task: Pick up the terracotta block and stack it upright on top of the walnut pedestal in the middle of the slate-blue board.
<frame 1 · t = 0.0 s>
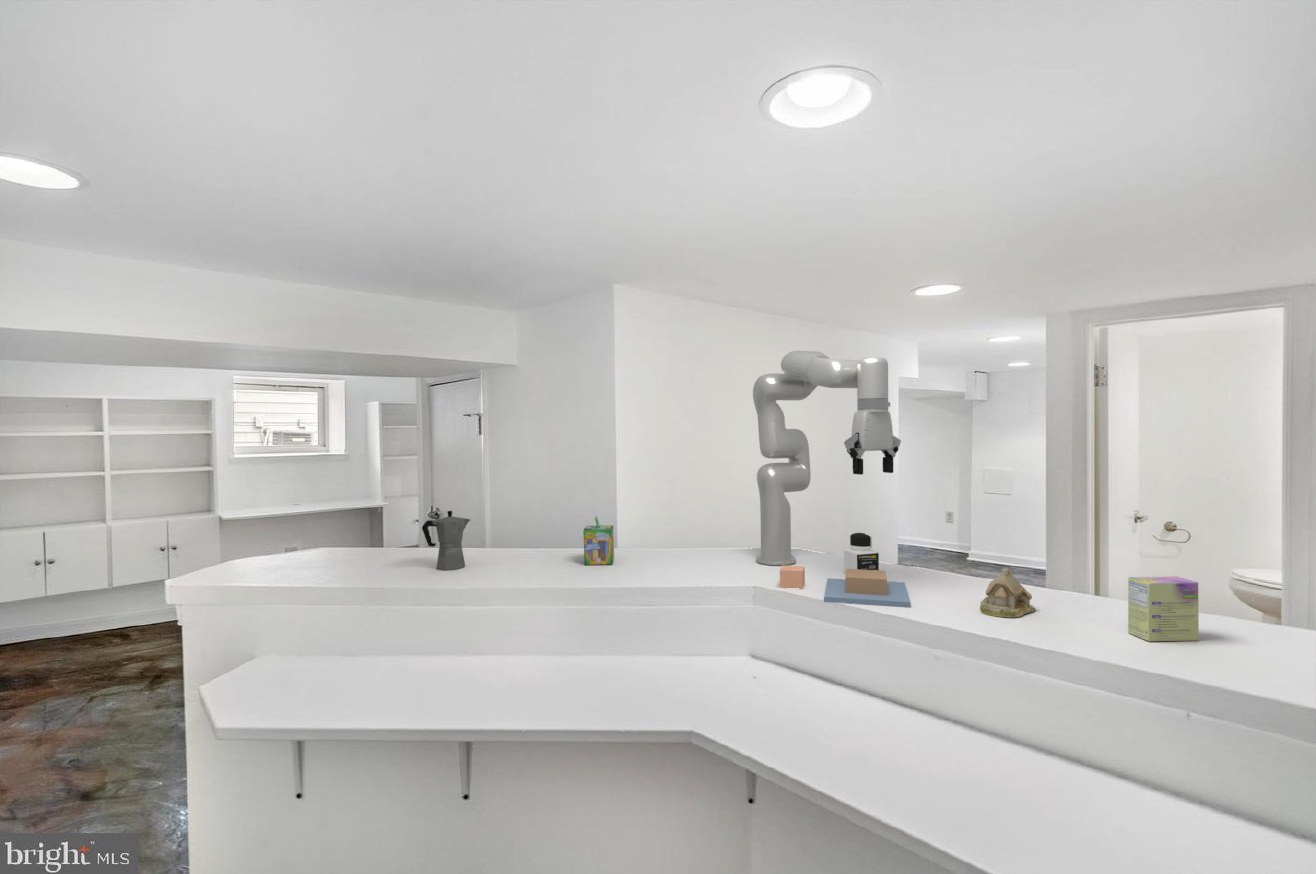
hand: (873, 473, 166), 31 cm above the table, tool pointing down, fingers open, 9 cm apart
ceramic model: (1005, 611, 152), on the table
box: (1162, 638, 132), on the table
medicine bottle: (861, 575, 189), on the table
coffeepot: (447, 568, 205), on the table
terracotta block: (792, 586, 177), on the table
chalk box: (599, 563, 211), on the table
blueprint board: (865, 594, 167), on the table
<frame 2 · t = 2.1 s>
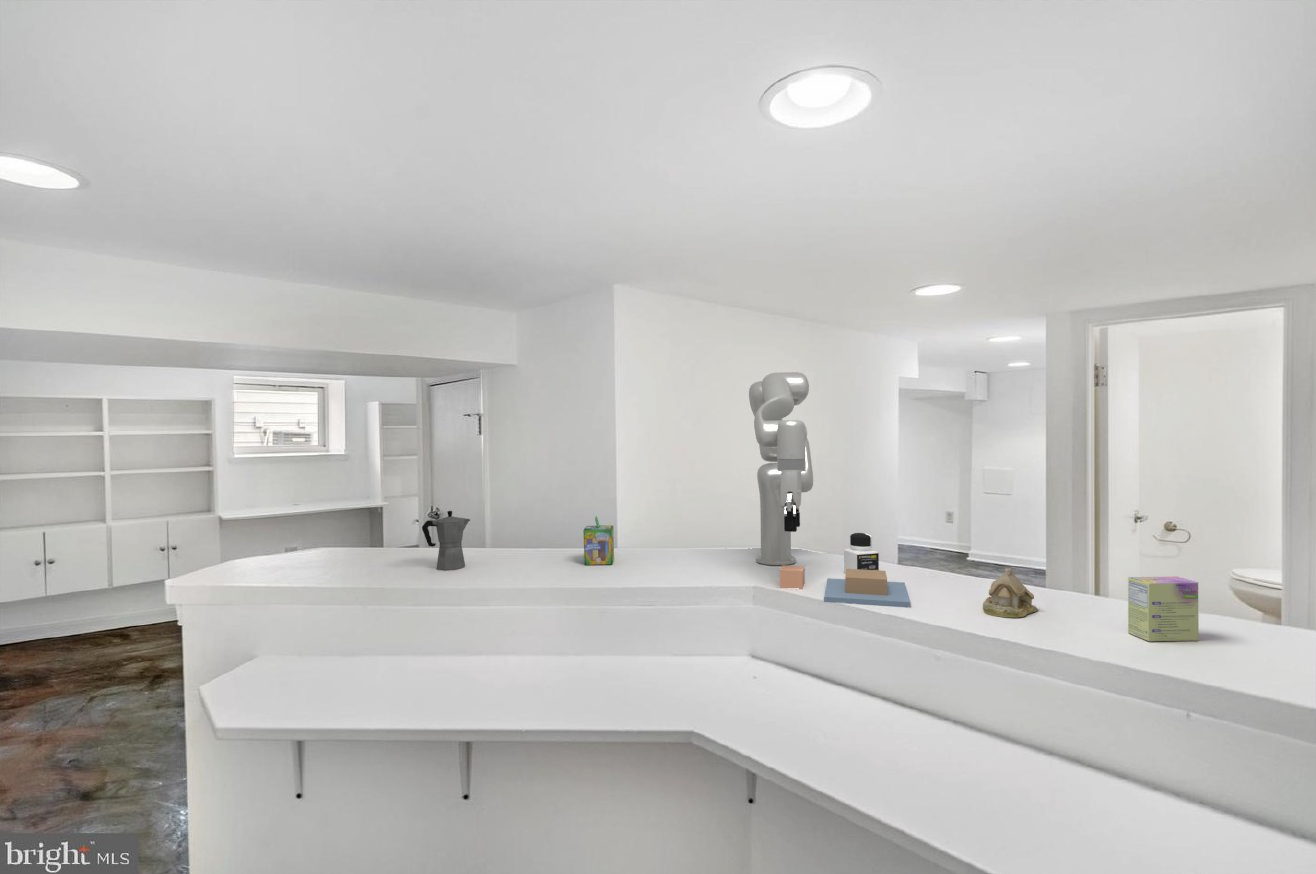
hand: (792, 529, 176), 16 cm above the table, tool pointing down, fingers open, 9 cm apart
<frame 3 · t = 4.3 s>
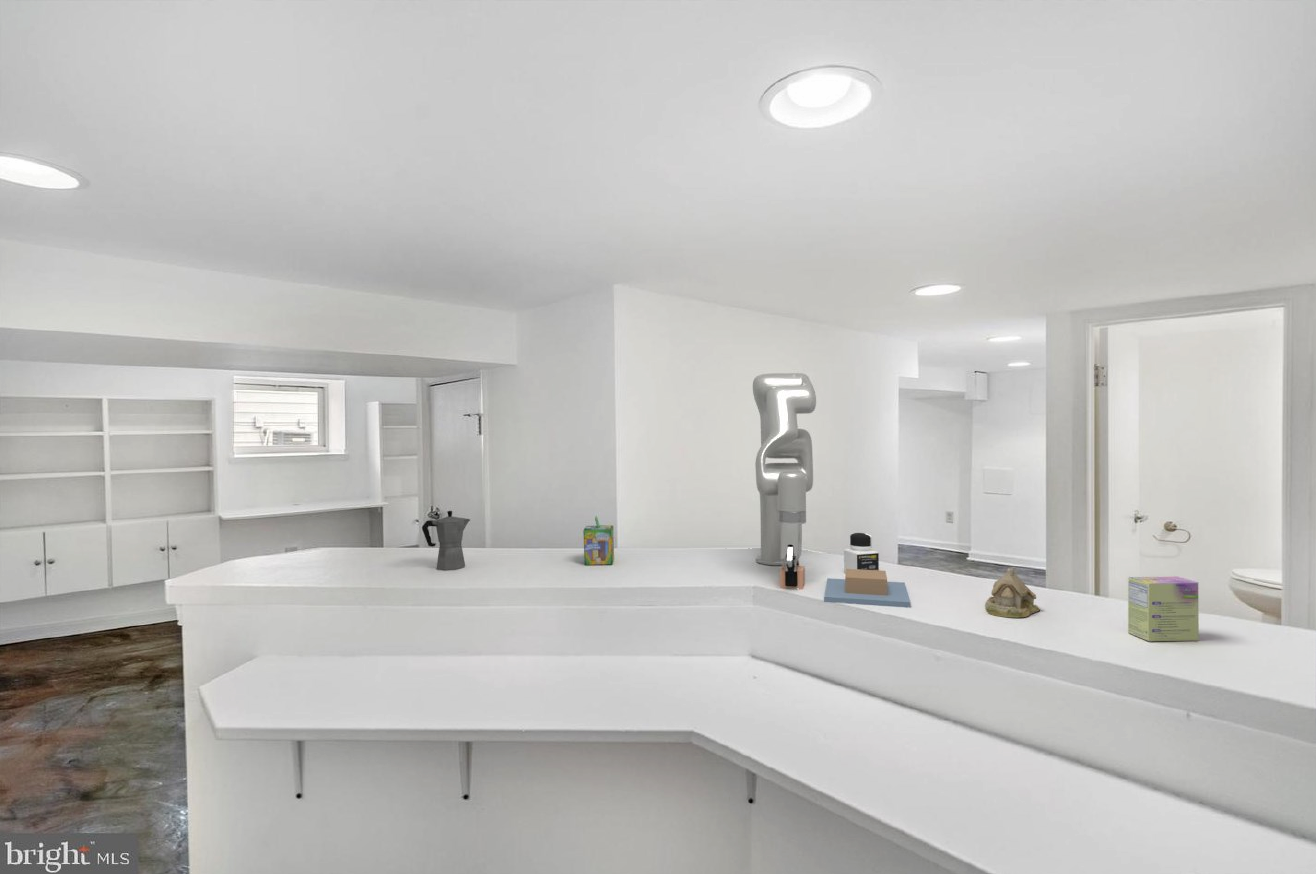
hand: (792, 582, 177), 1 cm above the table, tool pointing down, fingers closed on terracotta block, 6 cm apart
terracotta block: (792, 586, 177), on the table, touching gripper
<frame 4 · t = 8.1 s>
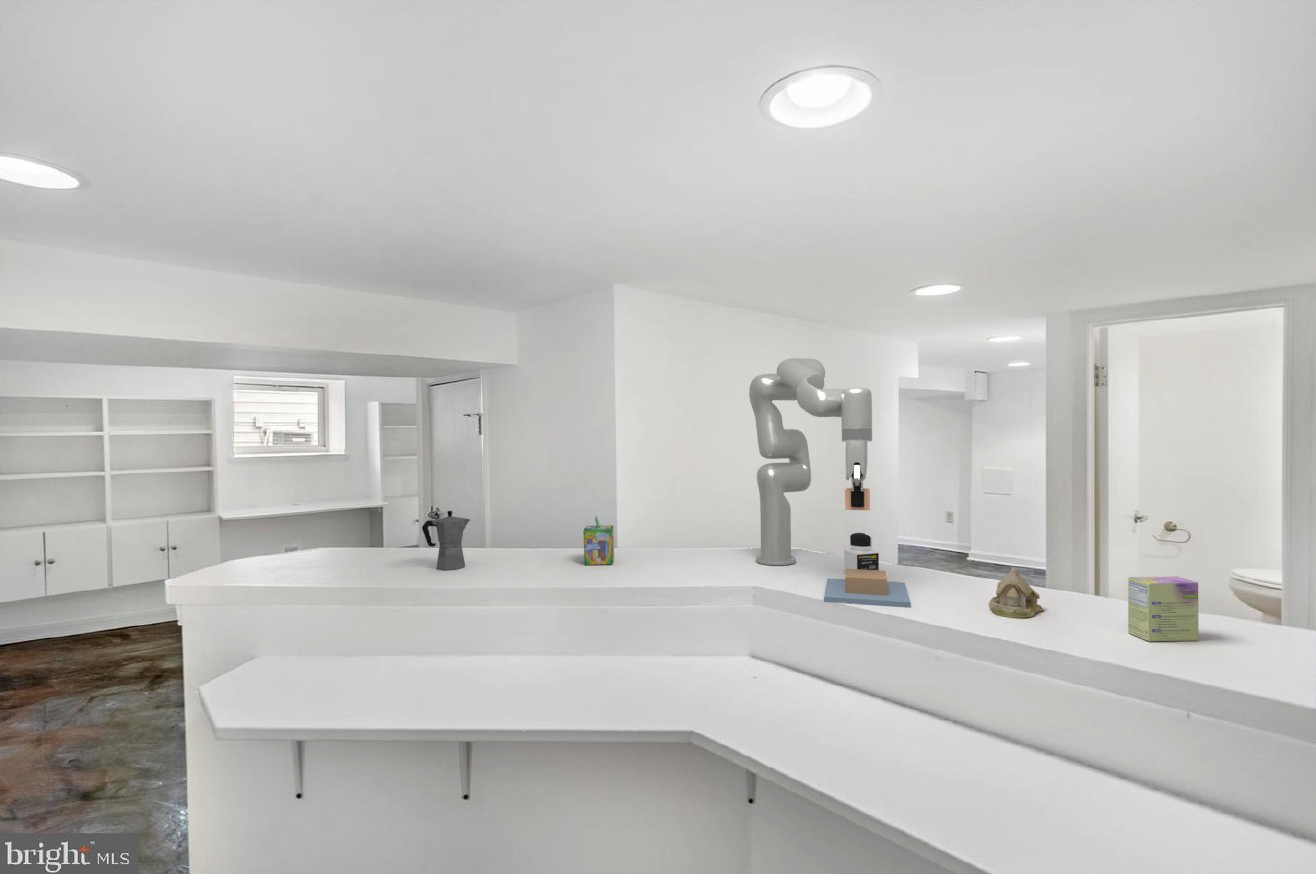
hand: (857, 504, 168), 23 cm above the table, tool pointing down, fingers closed on terracotta block, 6 cm apart
terracotta block: (857, 508, 168), point 22 cm above the table, touching gripper
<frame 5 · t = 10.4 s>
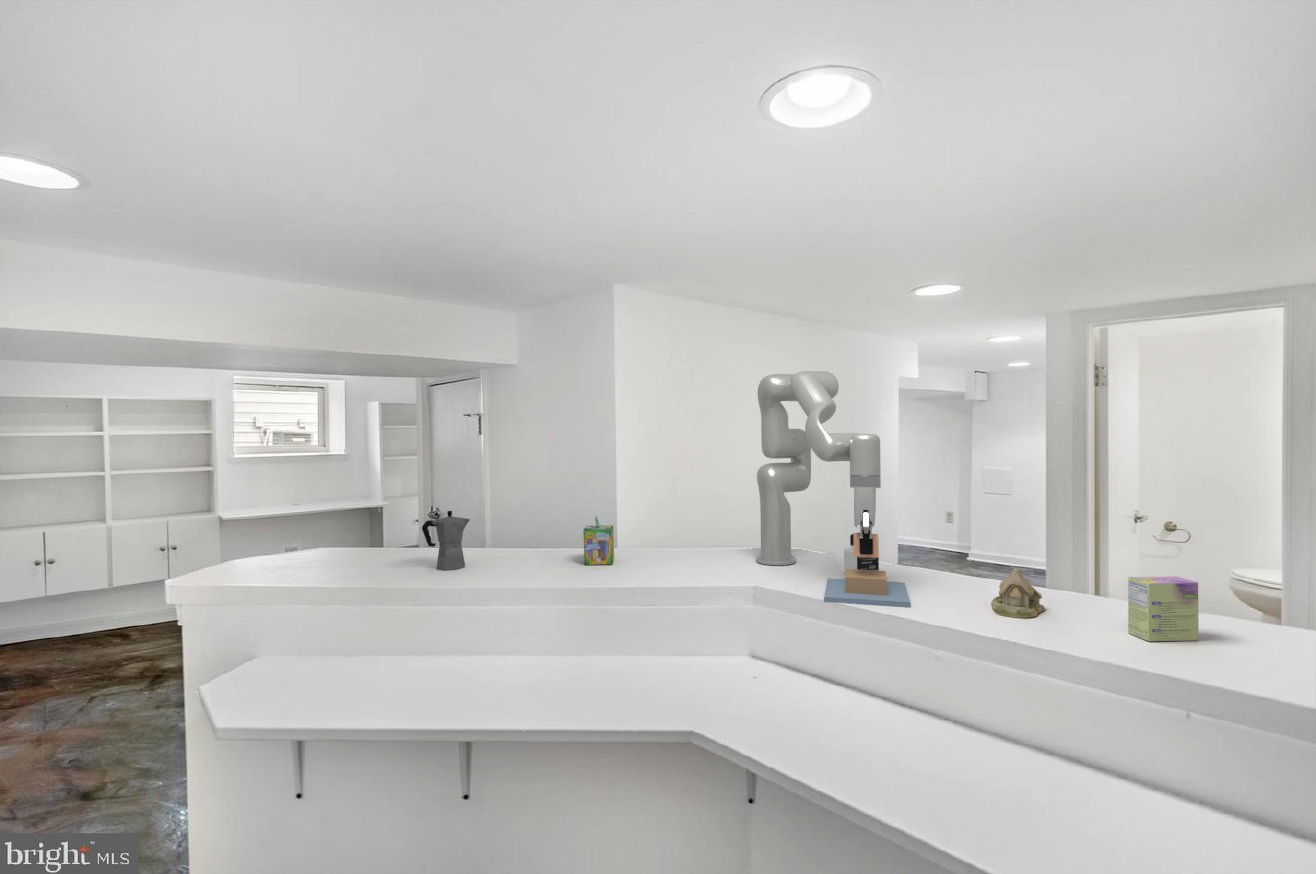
hand: (866, 551, 167), 11 cm above the table, tool pointing down, fingers closed on terracotta block, 6 cm apart
terracotta block: (866, 554, 167), point 10 cm above the table, touching gripper
when the fingers open (8 cm above the table, at t = 12.1 s): terracotta block drops 1 cm, resting on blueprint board.
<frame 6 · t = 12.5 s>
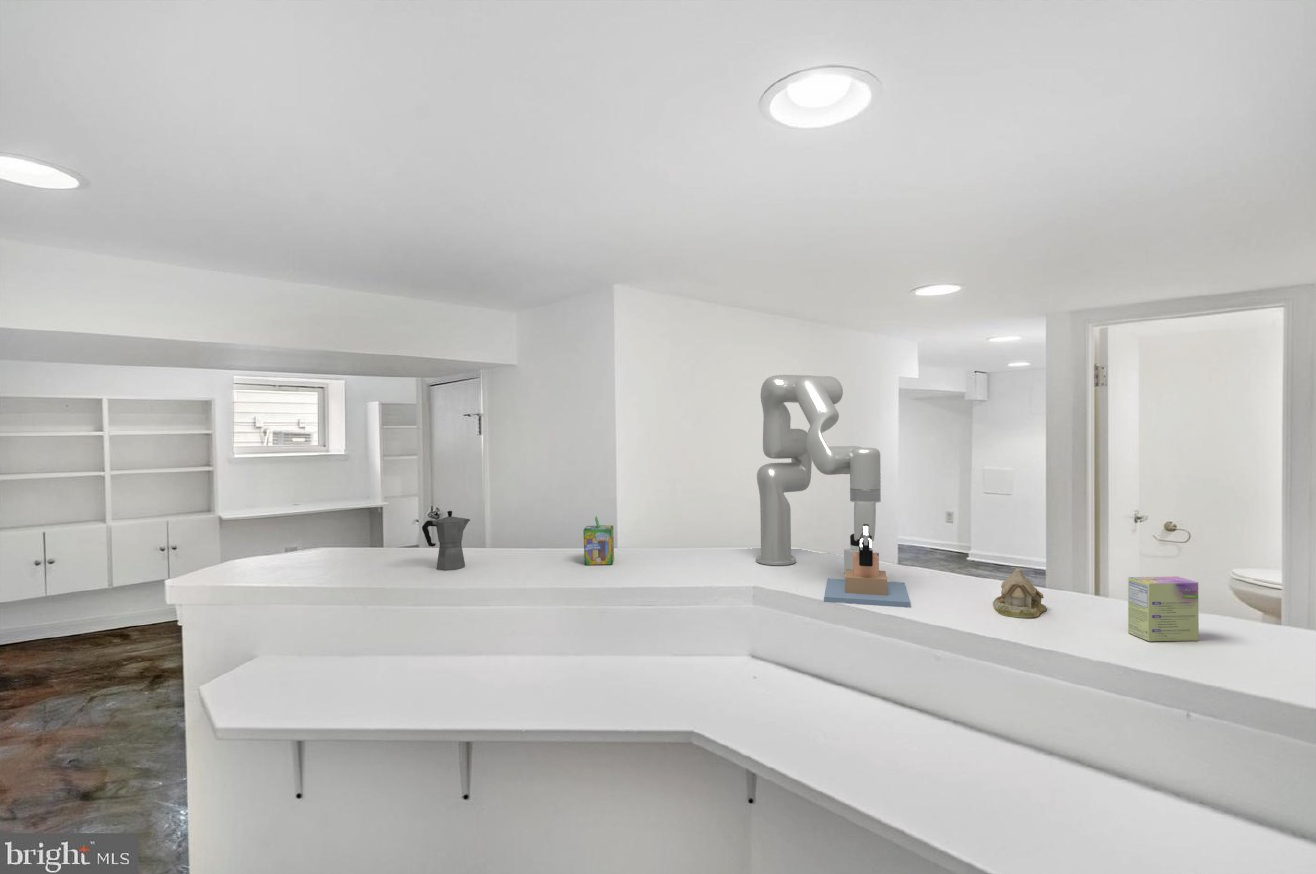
hand: (865, 562, 167), 8 cm above the table, tool pointing down, fingers open, 9 cm apart
terracotta block: (865, 574, 167), point 5 cm above the table, touching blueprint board
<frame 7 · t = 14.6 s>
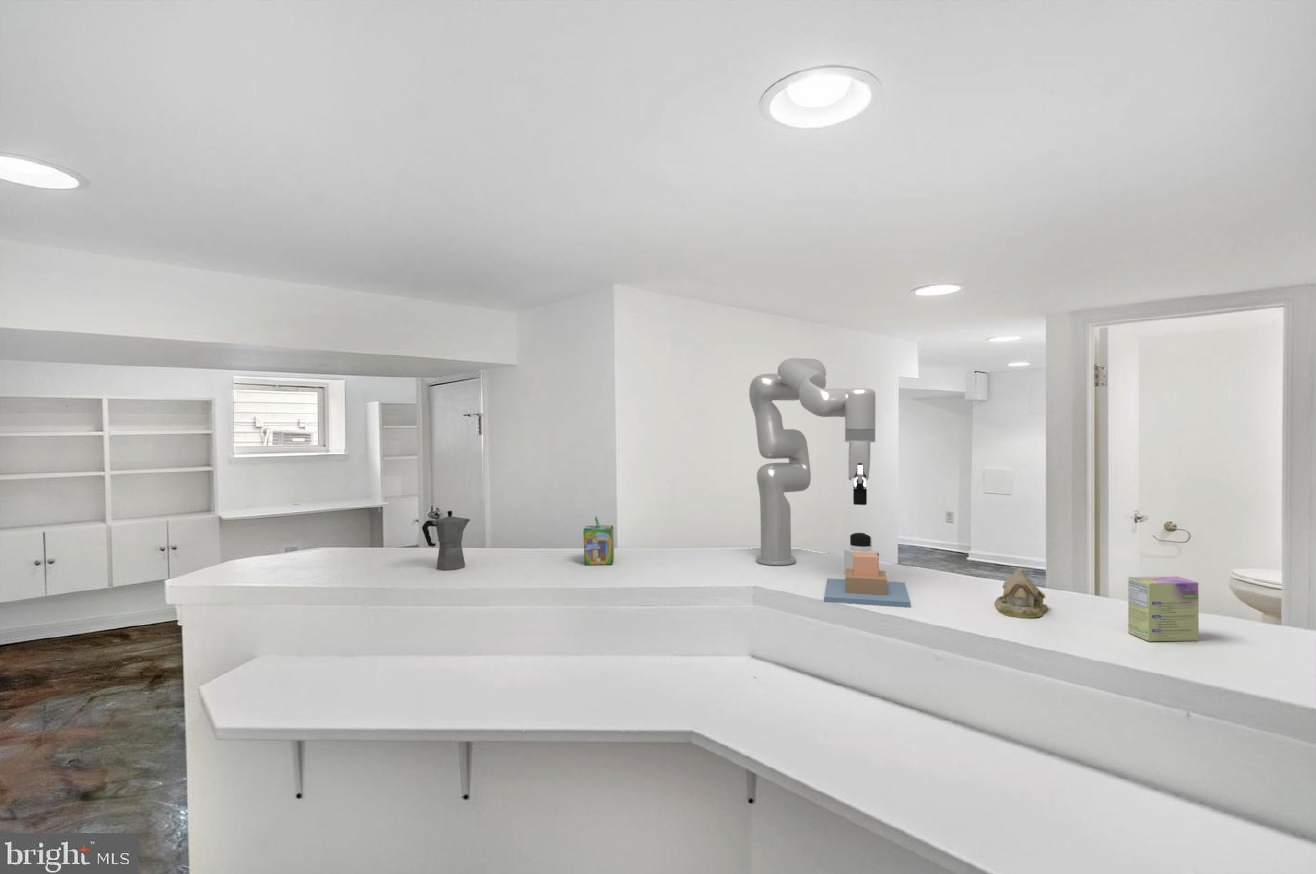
hand: (859, 502, 169), 24 cm above the table, tool pointing down, fingers open, 9 cm apart
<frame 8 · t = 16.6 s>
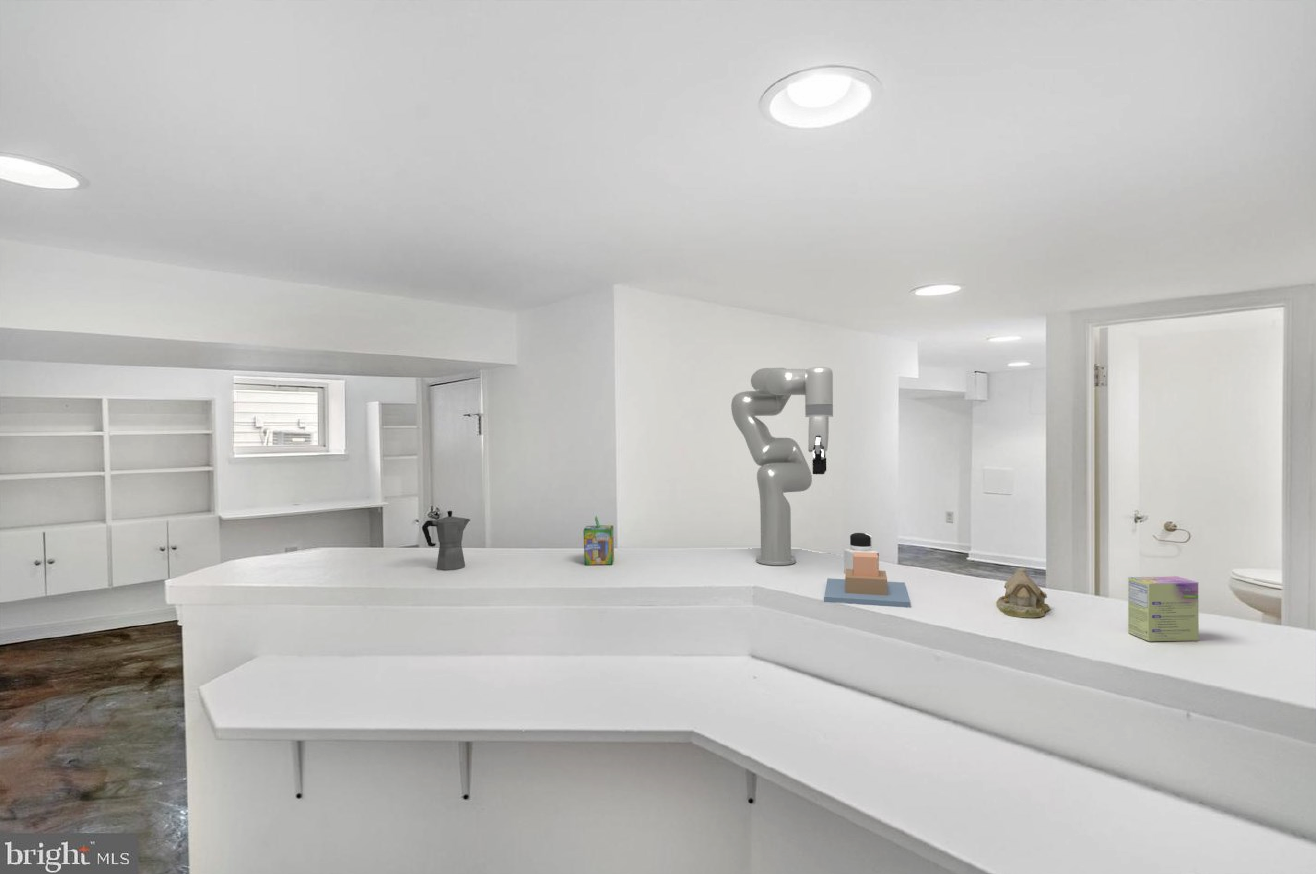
hand: (819, 472, 182), 30 cm above the table, tool pointing down, fingers open, 9 cm apart
at the end: terracotta block inside the target area on the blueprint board (0.0 cm from its centre), point 5.2 cm above the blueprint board's base; terracotta block tilted 0°; the gripper is holding nothing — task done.
